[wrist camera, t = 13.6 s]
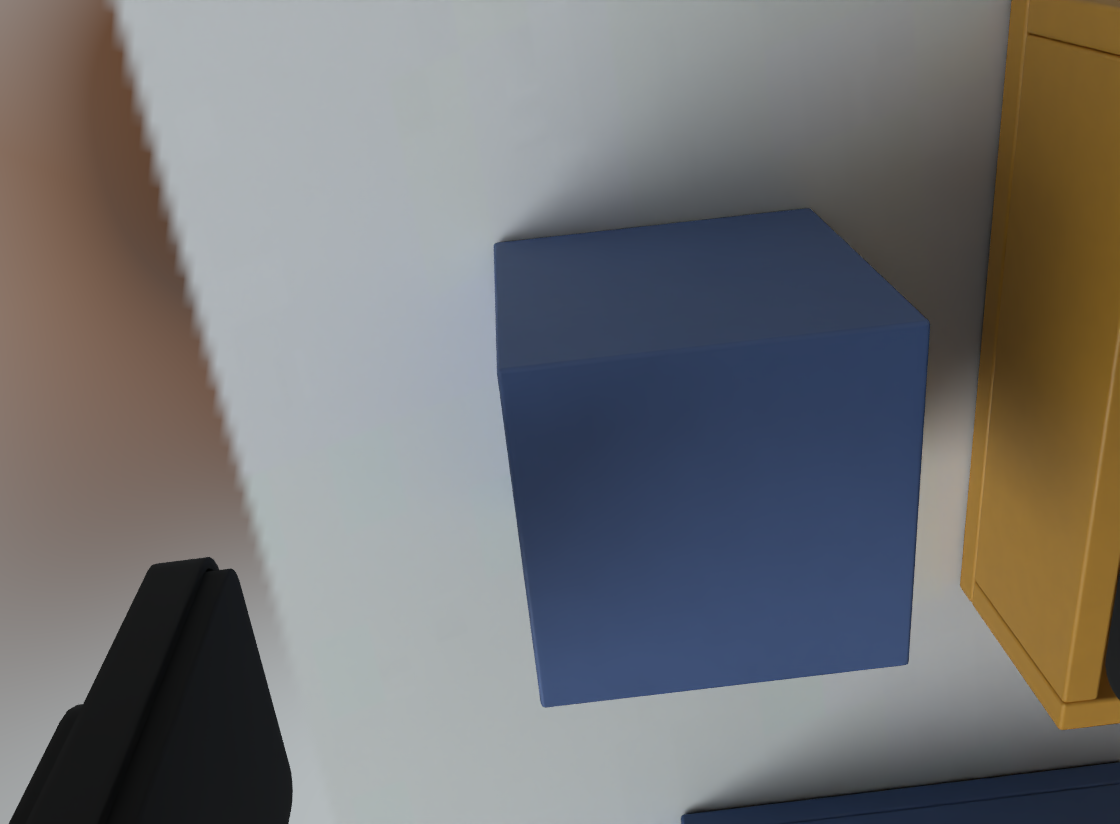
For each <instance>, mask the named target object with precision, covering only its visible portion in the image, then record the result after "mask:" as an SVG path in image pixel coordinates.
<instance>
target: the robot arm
mask: <svg viewBox="0 0 1120 824" xmlns="http://www.w3.org/2000/svg"><path fill="white" fill-rule="evenodd" d="M1105 667H1106V674H1107V677H1108V681H1109V684H1110V686H1111V688H1112V690H1113V692H1114V693H1115V695H1116V696H1117V698H1118V699H1119V700H1120V570H1119V577H1118V583H1117V589H1116V596H1115V602H1114V608H1113V615H1112V621H1111V627H1110V634H1109V640H1108V646H1107V653H1106V662H1105ZM292 792H293V790H292V777H291V770H290V766H289V762H288V758H287V755H286V751H285V747H284V743H283V740H282V736H281V733H280V729H279V725H278V721H277V718H276V714H275V711H274V707H273V703H272V699H271V696H270V692H269V689H268V685H267V681H266V677H265V674H264V670H263V666H262V663H261V659H260V655H259V651H258V648H257V644H256V640H255V637H254V633H253V629H252V626H251V622H250V618H249V615H248V611H247V607H246V604H245V600H244V596H243V593H242V589H241V585H240V582H239V579H238V576H237V574H236V572H235V571H234V570H233V569H225V570H219V568H218V566H217V564H216V563H215V561H214V560H213V559H212V558H210V557H206V558H199V559H190V560H183V561H174V562H166V563H159V564H154V565H152V566H151V567H150V568H149V570H148V571H147V573H146V576H145V578H144V580H143V582H142V584H141V586H140V588H139V590H138V592H137V594H136V596H135V598H134V600H133V603H132V604H131V607H130V609H129V611H128V613H127V615H126V617H125V619H124V621H123V623H122V625H121V627H120V629H119V631H118V633H117V636H116V638H115V640H114V642H113V644H112V646H111V648H110V650H109V652H108V654H107V656H106V658H105V660H104V662H103V664H102V667H101V669H100V671H99V673H98V675H97V677H96V679H95V681H94V683H93V685H92V687H91V689H90V691H89V693H88V695H87V698H86V700H85V702H84V704H81V705H76V706H75V707H73V708H71V709H69V710H68V711H67V712H66V714H65V715H64V717H63V718H62V720H61V721H60V723H59V725H58V727H57V729H56V731H55V733H54V735H53V737H52V739H51V741H50V743H49V745H48V747H47V749H46V751H45V753H44V755H43V757H42V759H41V761H40V763H39V765H38V767H37V769H36V771H35V773H34V775H33V777H32V778H31V780H30V783H29V784H28V786H27V788H26V790H25V793H24V795H23V797H22V798H21V801H20V803H19V805H18V806H17V808H16V810H15V813H14V815H13V816H12V818H11V820H10V822H9V824H288V822H289V817H290V812H291V806H292Z"/></svg>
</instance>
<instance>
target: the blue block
mask: <svg viewBox="0 0 1120 824" xmlns="http://www.w3.org/2000/svg"><path fill="white" fill-rule="evenodd" d="M494 274H495V312H496V350H497V376H498V384H499V391H500V399H501V406H502V414H503V421H504V429H505V436H506V444H507V451H508V459H509V467H510V474H511V482H512V489H513V497H514V504H515V512H516V519H517V527H518V535H519V542H520V550H521V557H522V565H523V572H524V580H525V587H526V595H527V602H528V610H529V618H530V625H531V633H532V640H533V648H534V655H535V663H536V670H537V678H538V685H539V693H540V701H541V704H542V706H543V707H554V706H562V705H570V704H579V703H587V702H596V701H604V700H613V699H621V698H630V697H638V696H647V695H655V694H664V693H672V692H680V691H689V690H697V689H706V688H714V687H723V686H731V685H740V684H748V683H757V682H765V681H774V680H782V679H791V678H799V677H807V676H816V675H824V674H833V673H841V672H850V671H858V670H867V669H875V668H884V667H892V666H901V665H906V664H908V661H909V646H910V630H911V615H912V599H913V584H914V568H915V552H916V537H917V521H918V506H919V490H920V475H921V459H922V444H923V428H924V412H925V397H926V381H927V366H928V350H929V335H930V322H929V321H928V320H927V319H926V318H925V317H924V316H923V315H922V314H921V313H920V312H919V311H918V310H917V309H916V308H915V307H914V306H913V305H912V304H911V303H909V302H908V301H907V300H906V299H905V298H904V297H903V296H902V295H901V294H900V293H899V292H898V291H897V290H896V289H895V288H894V287H893V286H892V285H891V284H889V283H888V282H887V281H886V280H885V279H884V278H883V277H882V276H881V275H880V274H879V273H878V272H877V271H876V270H875V269H874V268H873V267H872V266H870V265H869V264H868V263H867V262H866V261H865V260H864V259H863V258H862V257H861V256H860V255H859V254H858V253H857V252H856V251H855V250H854V249H853V248H851V247H850V246H849V245H848V244H847V243H846V242H845V241H844V240H843V239H842V238H841V237H840V236H839V235H838V234H837V233H836V232H835V231H834V230H832V229H831V228H830V227H829V226H828V225H827V224H826V223H825V222H824V221H823V220H822V219H821V218H820V217H819V216H818V215H817V214H816V213H815V212H813V211H812V210H811V209H809V208H805V209H796V210H787V211H778V212H769V213H760V214H751V215H742V216H733V217H724V218H715V219H706V220H697V221H688V222H679V223H670V224H661V225H652V226H643V227H634V228H625V229H616V230H607V231H598V232H589V233H580V234H571V235H562V236H553V237H544V238H535V239H526V240H517V241H508V242H499V243H496V244H494Z"/></svg>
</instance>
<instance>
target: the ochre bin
mask: <svg viewBox="0 0 1120 824" xmlns="http://www.w3.org/2000/svg"><path fill="white" fill-rule="evenodd" d="M1119 570H1120V0H1012V1H1011V13H1010V24H1009V36H1008V47H1007V58H1006V70H1005V81H1004V92H1003V104H1002V115H1001V126H1000V138H999V149H998V161H997V172H996V183H995V195H994V206H993V217H992V229H991V240H990V252H989V263H988V274H987V286H986V297H985V308H984V320H983V331H982V342H981V354H980V365H979V377H978V388H977V399H976V411H975V422H974V433H973V445H972V456H971V468H970V479H969V490H968V502H967V513H966V524H965V536H964V547H963V558H962V570H961V581H960V586H961V588H962V590H963V591H964V593H965V594H966V596H967V597H968V599H969V600H970V601H971V602H972V604H973V606H974V607H975V609H976V610H977V612H978V613H979V614H980V616H981V617H982V619H983V620H984V622H985V623H986V625H987V626H988V627H989V629H990V630H991V632H992V633H993V635H994V636H995V638H996V639H997V640H998V642H999V643H1000V645H1001V646H1002V648H1003V649H1004V651H1005V652H1006V653H1007V655H1008V656H1009V658H1010V659H1011V661H1012V662H1013V664H1014V665H1015V666H1016V668H1017V669H1018V671H1019V672H1020V674H1021V675H1022V676H1023V678H1024V679H1025V681H1026V682H1027V684H1028V685H1029V687H1030V688H1031V689H1032V691H1033V692H1034V694H1035V695H1036V697H1037V698H1038V700H1039V701H1040V702H1041V704H1042V705H1043V707H1044V708H1045V710H1046V711H1047V713H1048V714H1049V715H1050V717H1051V718H1052V720H1053V721H1054V723H1055V724H1056V726H1057V727H1058V728H1059V729H1060V730H1067V729H1075V728H1084V727H1092V726H1101V725H1109V724H1117V723H1120V700H1119V699H1118V698H1117V696H1116V695H1115V693H1114V692H1113V690H1112V688H1111V686H1110V684H1109V681H1108V677H1107V674H1106V667H1105V662H1106V653H1107V646H1108V640H1109V634H1110V627H1111V621H1112V615H1113V608H1114V602H1115V596H1116V589H1117V583H1118V577H1119Z"/></svg>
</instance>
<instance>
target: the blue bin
mask: <svg viewBox="0 0 1120 824" xmlns="http://www.w3.org/2000/svg"><path fill="white" fill-rule="evenodd" d="M681 824H1120V762H1118V763H1109V764H1101V765H1093V766H1084V767H1076V768H1068V769H1059V770H1051V771H1043V772H1034V773H1026V774H1018V775H1009V776H1001V777H993V778H984V779H976V780H968V781H959V782H951V783H943V784H934V785H926V786H918V787H909V788H901V789H893V790H884V791H876V792H868V793H859V794H851V795H843V796H834V797H826V798H818V799H809V800H801V801H793V802H784V803H776V804H768V805H759V806H751V807H743V808H734V809H726V810H718V811H709V812H701V813H693V814H684V815H682V817H681Z"/></svg>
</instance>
